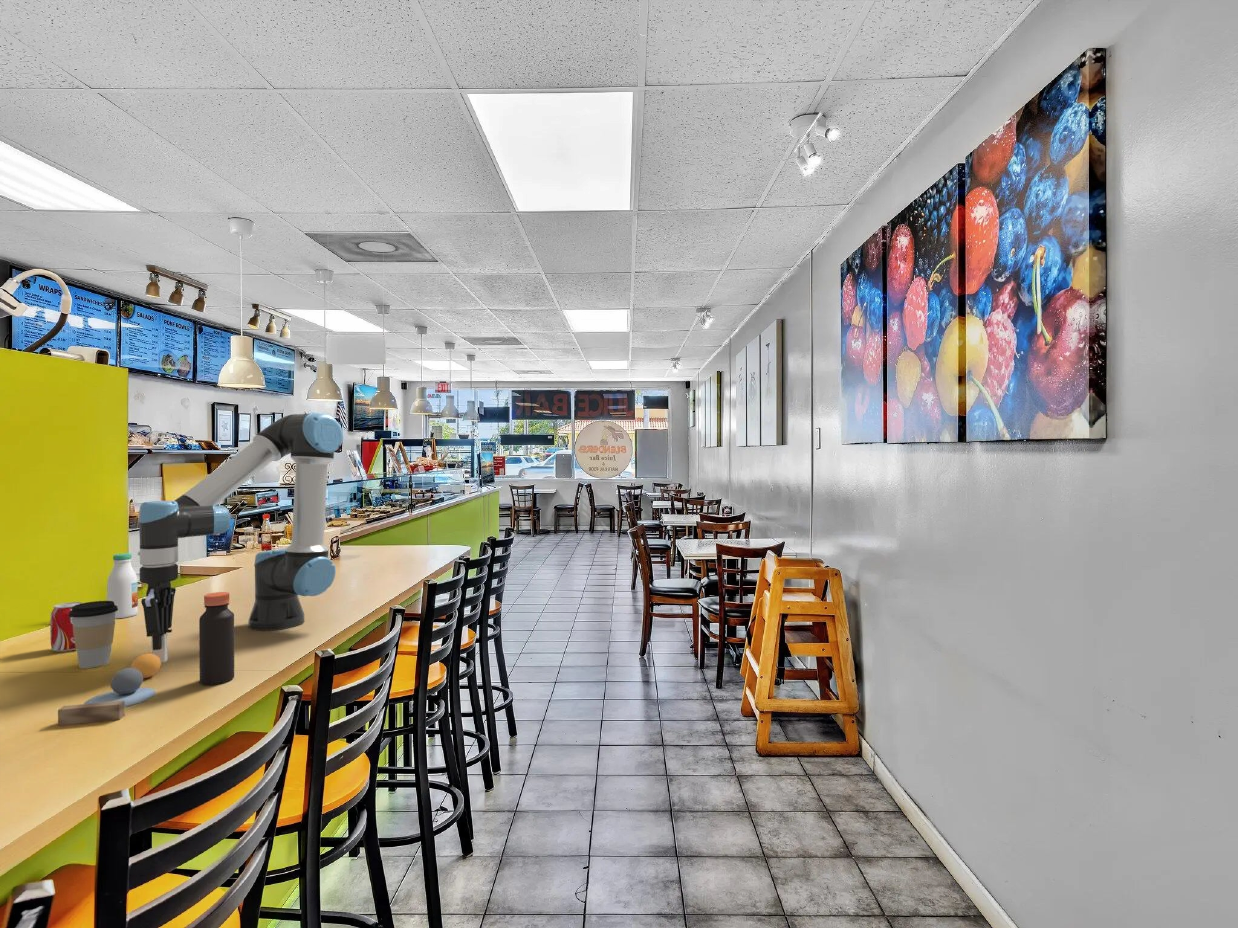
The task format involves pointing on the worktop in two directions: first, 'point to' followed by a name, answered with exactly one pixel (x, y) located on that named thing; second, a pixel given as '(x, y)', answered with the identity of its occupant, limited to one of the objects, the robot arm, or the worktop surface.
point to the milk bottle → (123, 586)
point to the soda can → (62, 628)
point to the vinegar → (216, 640)
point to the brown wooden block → (91, 712)
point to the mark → (124, 697)
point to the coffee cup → (93, 632)
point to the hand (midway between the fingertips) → (159, 661)
